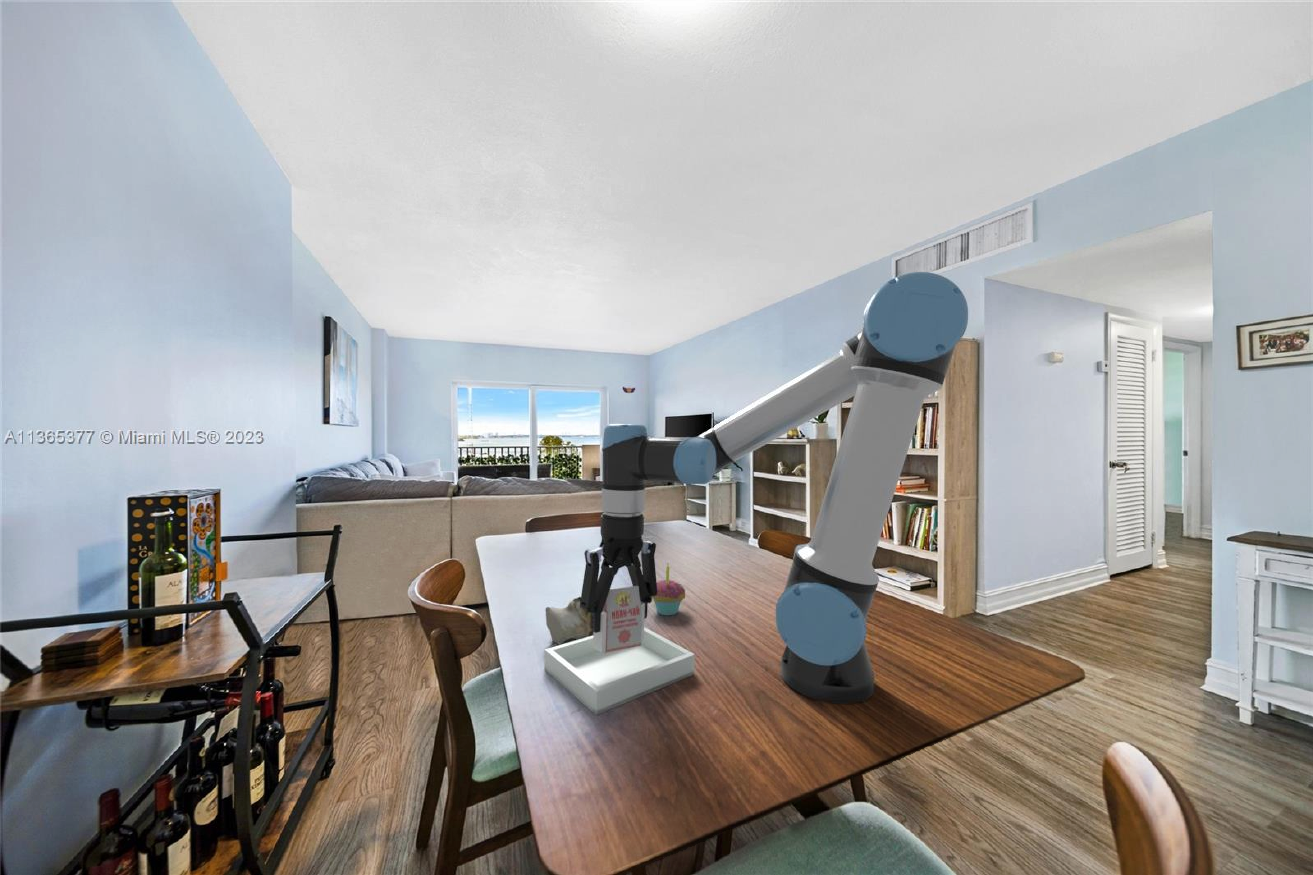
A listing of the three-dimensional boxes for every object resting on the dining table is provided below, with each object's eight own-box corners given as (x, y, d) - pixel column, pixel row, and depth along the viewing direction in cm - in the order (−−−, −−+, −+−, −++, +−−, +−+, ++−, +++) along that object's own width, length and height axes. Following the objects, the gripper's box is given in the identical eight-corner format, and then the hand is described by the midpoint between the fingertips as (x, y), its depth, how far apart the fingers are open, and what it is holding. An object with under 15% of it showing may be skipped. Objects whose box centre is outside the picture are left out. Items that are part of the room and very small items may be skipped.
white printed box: (597, 643, 84) (598, 586, 84) (632, 637, 87) (634, 582, 87) (604, 652, 81) (605, 593, 81) (641, 645, 84) (642, 588, 84)
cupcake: (685, 619, 108) (687, 566, 108) (648, 618, 109) (649, 565, 108) (684, 605, 117) (685, 556, 117) (649, 604, 117) (650, 555, 117)
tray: (694, 674, 84) (694, 654, 84) (596, 715, 71) (596, 691, 71) (635, 640, 97) (636, 622, 97) (544, 669, 84) (544, 649, 84)
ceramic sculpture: (540, 590, 99) (609, 586, 106) (537, 632, 99) (606, 626, 106) (552, 609, 90) (627, 603, 96) (548, 655, 90) (623, 647, 96)
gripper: (654, 505, 93) (651, 622, 94) (559, 514, 80) (556, 650, 81) (680, 510, 87) (676, 636, 88) (582, 522, 74) (579, 668, 75)
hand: (619, 643), depth 84 cm, fingers closed on white printed box, 7 cm apart
